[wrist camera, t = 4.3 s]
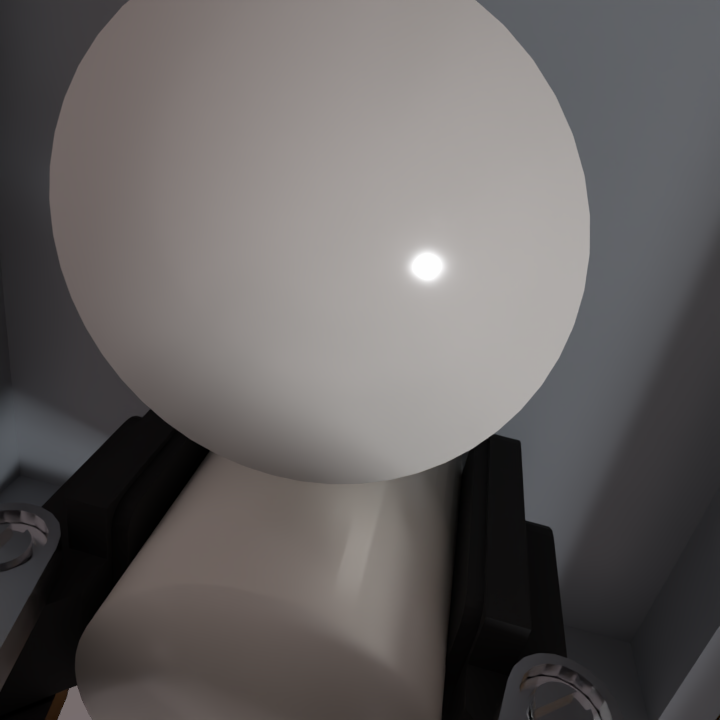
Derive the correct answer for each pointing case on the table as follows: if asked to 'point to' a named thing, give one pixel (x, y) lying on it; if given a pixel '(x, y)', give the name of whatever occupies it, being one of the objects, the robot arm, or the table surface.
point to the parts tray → (566, 379)
